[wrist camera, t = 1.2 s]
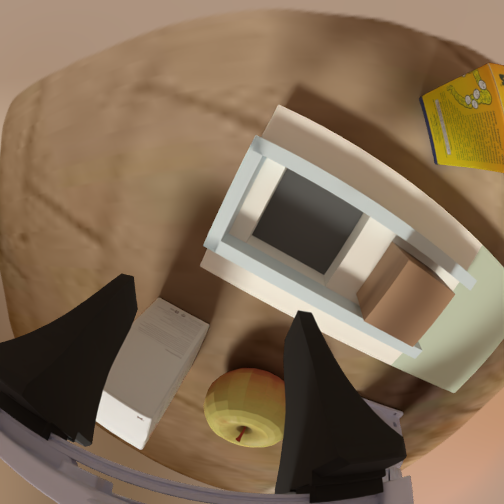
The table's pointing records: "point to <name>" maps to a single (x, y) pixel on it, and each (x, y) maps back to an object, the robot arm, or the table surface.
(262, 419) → the apple
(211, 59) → the table surface
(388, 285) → the block
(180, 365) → the small box
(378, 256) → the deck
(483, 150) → the supplement box
